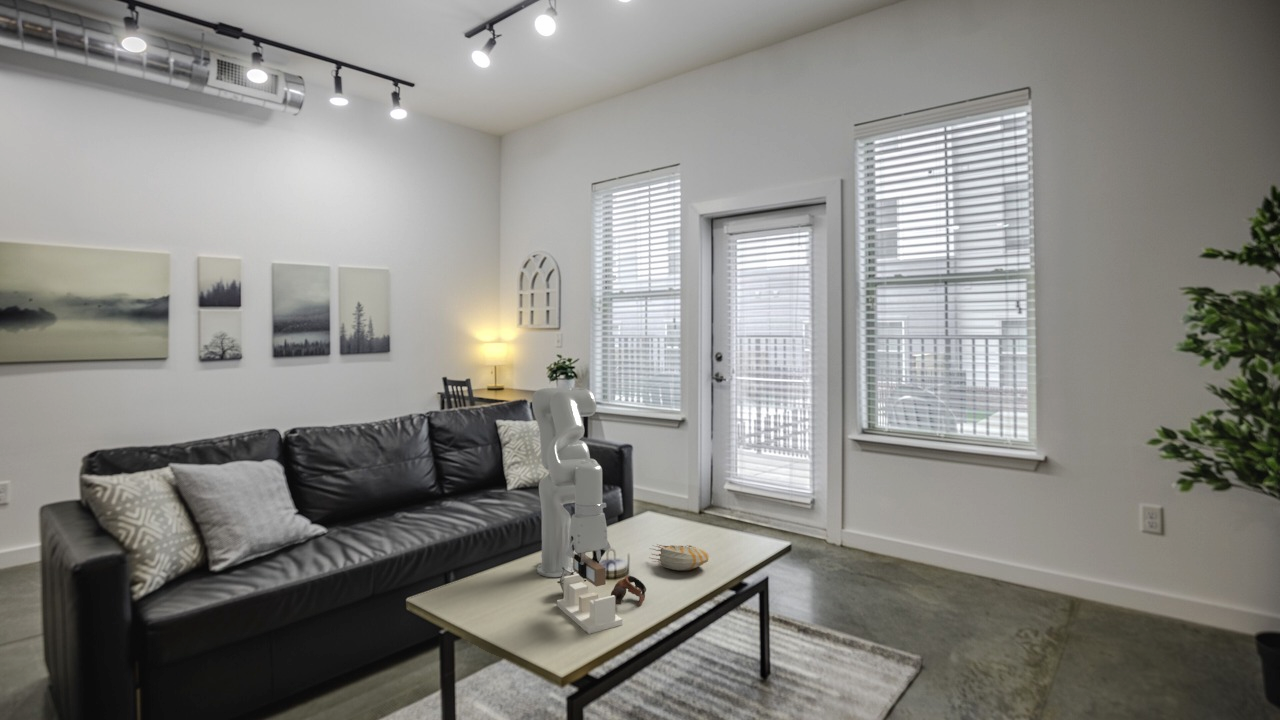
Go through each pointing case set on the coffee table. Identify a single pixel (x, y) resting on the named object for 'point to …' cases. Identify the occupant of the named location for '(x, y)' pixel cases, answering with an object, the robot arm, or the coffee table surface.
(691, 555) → the nautilus
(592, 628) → the stand
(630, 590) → the brown curved ringed piece
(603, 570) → the tall brown box
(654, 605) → the coffee table surface
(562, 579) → the wire frame polyhedron
